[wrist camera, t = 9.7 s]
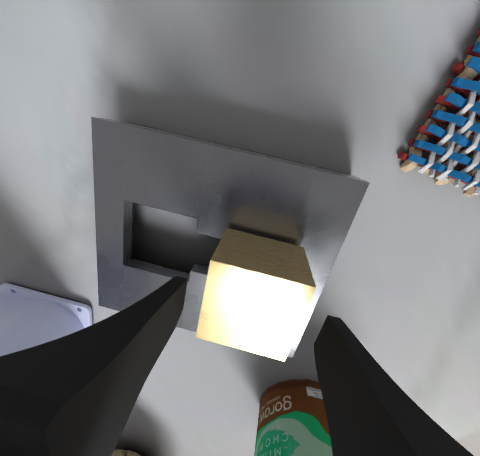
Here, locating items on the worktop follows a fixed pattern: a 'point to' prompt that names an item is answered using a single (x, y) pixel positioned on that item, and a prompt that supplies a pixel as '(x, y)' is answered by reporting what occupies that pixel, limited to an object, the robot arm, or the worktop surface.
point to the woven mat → (452, 130)
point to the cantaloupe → (124, 453)
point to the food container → (293, 421)
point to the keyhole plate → (209, 207)
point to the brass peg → (255, 294)
